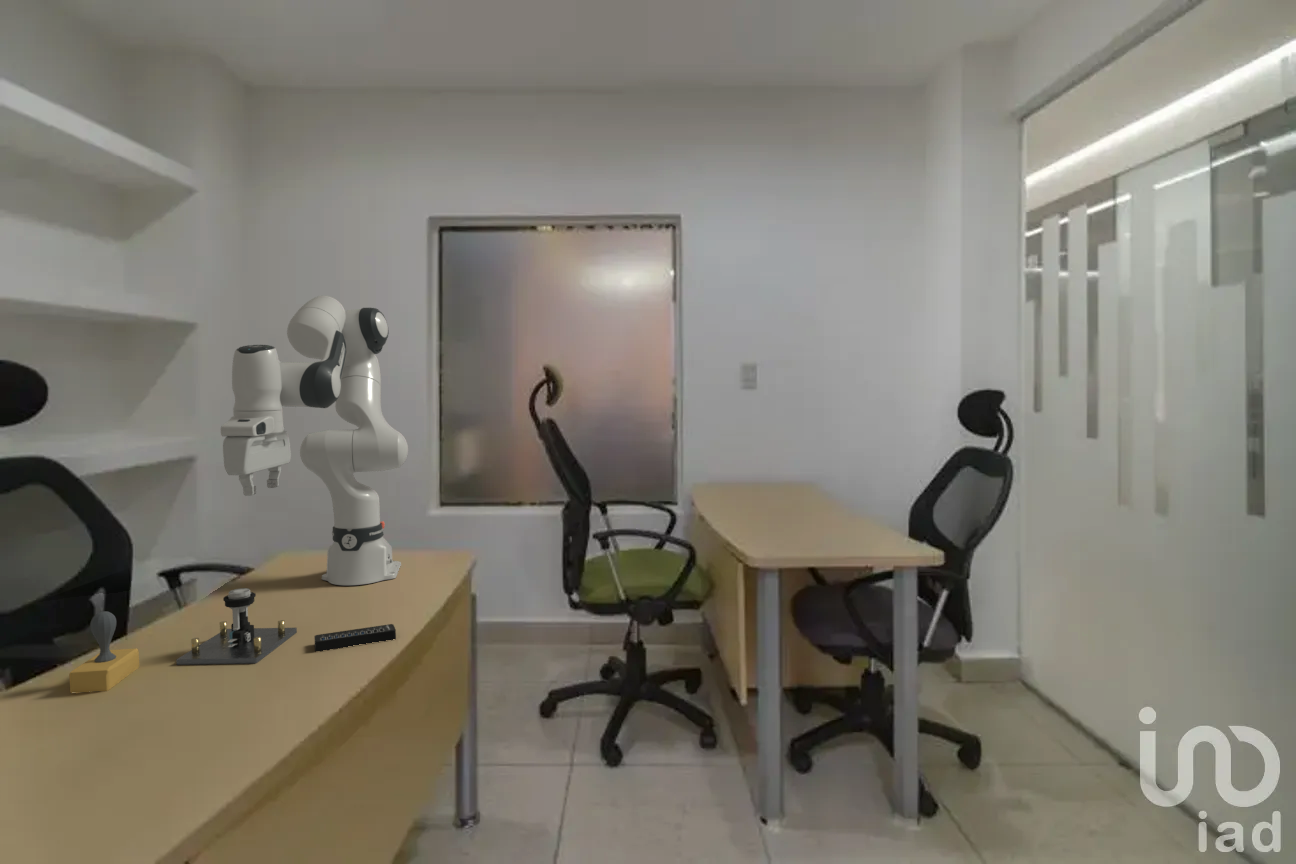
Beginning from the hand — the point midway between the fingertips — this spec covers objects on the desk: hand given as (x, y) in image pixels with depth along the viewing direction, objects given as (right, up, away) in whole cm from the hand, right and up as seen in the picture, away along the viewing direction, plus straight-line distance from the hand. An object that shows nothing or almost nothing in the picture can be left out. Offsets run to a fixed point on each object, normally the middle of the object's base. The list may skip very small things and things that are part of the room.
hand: (261, 491), depth 144 cm
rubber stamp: (-13, -30, -25) cm, 41 cm away
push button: (+2, -28, -11) cm, 30 cm away
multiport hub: (+22, -30, -7) cm, 38 cm away
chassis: (+2, -29, -10) cm, 31 cm away
